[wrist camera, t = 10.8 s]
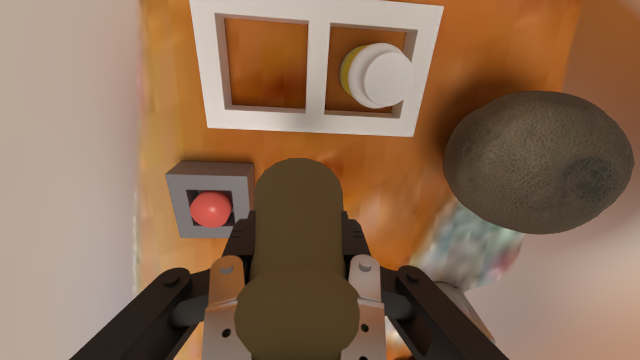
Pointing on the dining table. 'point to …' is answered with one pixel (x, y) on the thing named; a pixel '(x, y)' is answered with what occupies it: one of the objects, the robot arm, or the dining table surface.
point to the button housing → (210, 176)
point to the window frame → (313, 62)
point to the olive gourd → (297, 268)
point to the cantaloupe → (538, 161)
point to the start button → (212, 207)
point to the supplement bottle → (376, 75)
